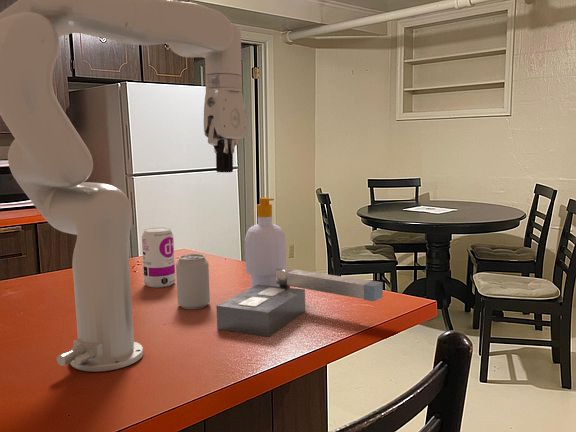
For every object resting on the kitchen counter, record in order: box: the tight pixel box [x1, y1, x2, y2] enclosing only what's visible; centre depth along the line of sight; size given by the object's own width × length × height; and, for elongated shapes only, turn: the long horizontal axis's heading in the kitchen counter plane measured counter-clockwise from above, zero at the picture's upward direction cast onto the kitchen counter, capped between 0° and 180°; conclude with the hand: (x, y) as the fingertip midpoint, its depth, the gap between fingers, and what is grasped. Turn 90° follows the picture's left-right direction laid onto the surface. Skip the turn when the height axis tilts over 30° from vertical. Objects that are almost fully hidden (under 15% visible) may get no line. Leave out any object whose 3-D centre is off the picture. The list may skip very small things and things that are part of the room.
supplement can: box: [141, 227, 176, 289], centre depth 152 cm, size 8×8×15 cm
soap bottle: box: [244, 197, 287, 288], centre depth 141 cm, size 10×10×24 cm
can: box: [175, 253, 211, 310], centre depth 132 cm, size 8×8×12 cm
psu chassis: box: [215, 284, 306, 338], centre depth 123 cm, size 22×12×5 cm, turn 155°
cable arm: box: [276, 267, 384, 302], centre depth 124 cm, size 26×4×3 cm, turn 54°
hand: (224, 171), depth 121 cm, fingers closed
